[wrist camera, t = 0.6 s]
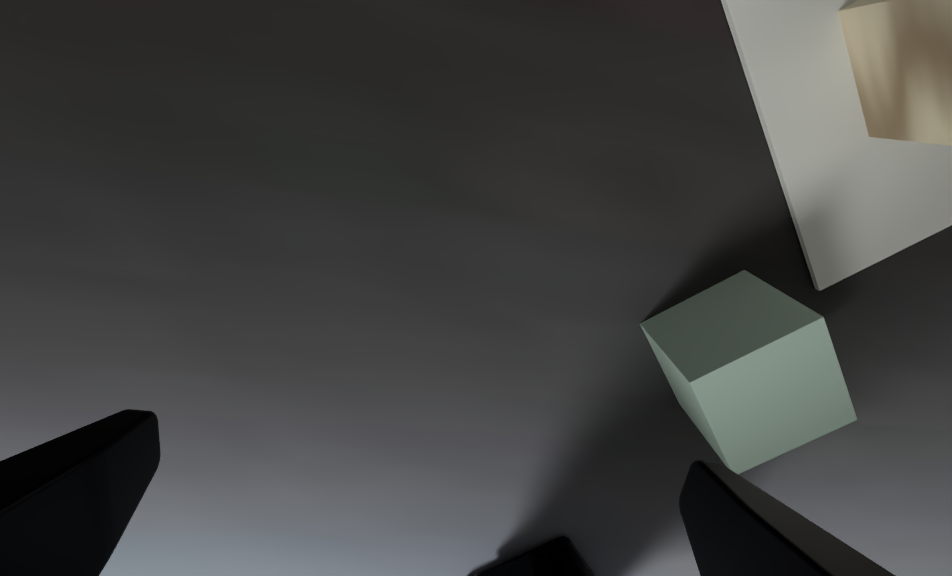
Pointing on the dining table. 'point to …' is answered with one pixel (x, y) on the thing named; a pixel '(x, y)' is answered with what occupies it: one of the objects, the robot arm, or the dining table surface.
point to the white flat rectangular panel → (834, 142)
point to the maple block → (902, 67)
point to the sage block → (751, 369)
